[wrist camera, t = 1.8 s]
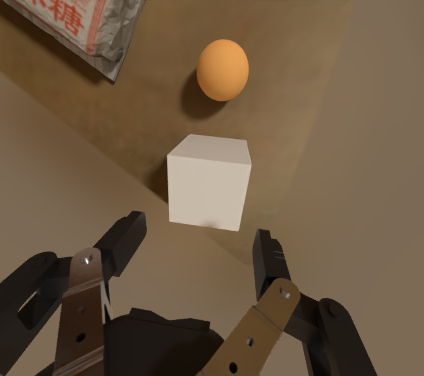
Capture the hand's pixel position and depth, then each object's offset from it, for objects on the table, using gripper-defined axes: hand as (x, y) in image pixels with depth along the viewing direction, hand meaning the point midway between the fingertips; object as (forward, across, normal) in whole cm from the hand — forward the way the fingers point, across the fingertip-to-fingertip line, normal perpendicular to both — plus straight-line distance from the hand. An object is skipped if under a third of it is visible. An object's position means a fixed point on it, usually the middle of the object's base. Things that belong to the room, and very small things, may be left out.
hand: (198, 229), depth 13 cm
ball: (+11, 0, -10) cm, 15 cm away
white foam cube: (+14, 0, 0) cm, 14 cm away
